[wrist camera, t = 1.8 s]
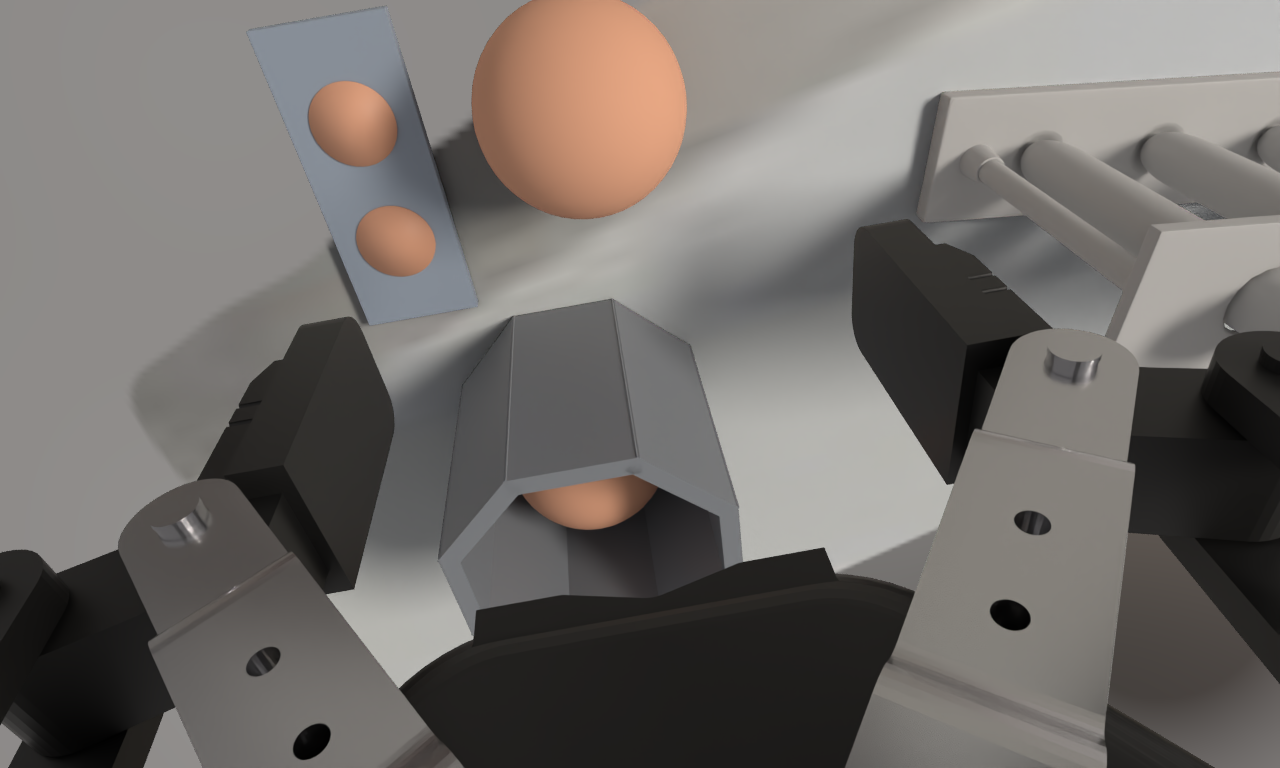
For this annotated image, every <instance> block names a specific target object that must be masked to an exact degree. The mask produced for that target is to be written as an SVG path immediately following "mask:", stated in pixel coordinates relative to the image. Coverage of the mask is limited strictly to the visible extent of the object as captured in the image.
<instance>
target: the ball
mask: <svg viewBox="0 0 1280 768" xmlns="http://www.w3.org/2000/svg"><path fill="white" fill-rule="evenodd" d="M472 86H473V87H472V117H473V123H474V128H475V133H476V136H477V139H478V142H479V145H480V147H481V150H482V152H483V154H484V156H485V158H486V160H487V162H488V164H489V165H490V167H491V168H492V170H493V171H494V173H495V174H496V176H497V177H498V178H499V179H500V180H501V182H502V183H503V184H504V185H505V186H506V187H507V188H508V189H509V190H510V191H512V192H513V193H514V194H515V195H516V196H518V197H519V198H520V199H522V200H523V201H525V202H526V203H527V204H529V205H531V206H533V207H535V208H537V209H538V210H541V211H544V212H546V213H549V214H552V215H555V216H559V217H564V218H571V219H593V218H600V217H605V216H609V215H612V214H615V213H618V212H620V211H623V210H625V209H627V208H629V207H631V206H633V205H635V204H636V203H637V202H639V201H640V200H642V199H643V198H645V197H646V196H647V195H648V194H649V193H650V192H651V191H652V190H654V189H655V187H656V186H657V185H658V184H659V183H660V182H661V181H662V179H663V178H664V177H665V175H666V174H667V172H668V171H669V169H670V168H671V166H672V164H673V162H674V160H675V158H676V156H677V154H678V151H679V149H680V146H681V143H682V139H683V135H684V130H685V124H686V113H687V103H686V91H685V85H684V80H683V77H682V74H681V70H680V67H679V64H678V62H677V59H676V57H675V55H674V53H673V50H672V49H671V47H670V46H669V44H668V42H667V41H666V39H665V38H664V36H663V35H662V34H661V33H660V31H659V30H658V29H657V28H656V26H655V25H654V24H652V23H651V22H650V21H649V20H648V19H647V18H646V17H645V16H644V15H643V14H641V13H640V12H639V11H637V10H636V9H634V8H633V7H632V6H630V5H628V4H626V3H624V2H622V1H621V0H532V1H530V2H528V3H527V4H525V5H523V6H521V7H520V8H518V9H517V10H516V11H514V12H513V13H512V14H511V15H510V16H508V17H507V18H506V19H505V20H504V21H503V22H502V24H501V25H500V26H499V27H498V28H497V29H496V31H495V32H494V33H493V35H492V36H491V38H490V39H489V41H488V42H487V44H486V46H485V48H484V50H483V52H482V54H481V56H480V59H479V62H478V64H477V68H476V70H475V75H474V80H473V85H472Z"/></svg>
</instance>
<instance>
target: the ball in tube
mask: <svg viewBox="0 0 1280 768" xmlns="http://www.w3.org/2000/svg"><path fill="white" fill-rule="evenodd" d="M657 488H658V487H657V486H655V485H653V484H651V483H649V482H647V481H645V480H643V479H641V478H639V477H637V476H635V475H627V476H622V477H616V478H611V479H605V480H599V481H594V482H588V483H583V484H577V485H571V486H566V487H560V488H554V489H549V490H543V491H538V492H532V493H526V494H522V495H523V496H524V498H525V499H526V500H527V501H528V502H529V504H530V505H531V506H532V507H533V508H534V509H535V510H537V511H538V512H539V513H540V514H541V515H543V516H544V517H546V518H547V519H549V520H551V521H553V522H555V523H557V524H560V525H563V526H566V527H569V528H574V529H583V530H593V529H602V528H606V527H610V526H613V525H616V524H619V523H621V522H623V521H625V520H627V519H628V518H630V517H631V516H633V515H634V514H636V513H637V512H638V511H640V510H641V509H642V508H643V507H644V506H645V505H646V503H647V502H648V501H649V500H650V499H651V498H652V496H653V495H654V493H655V492H656V490H657Z"/></svg>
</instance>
